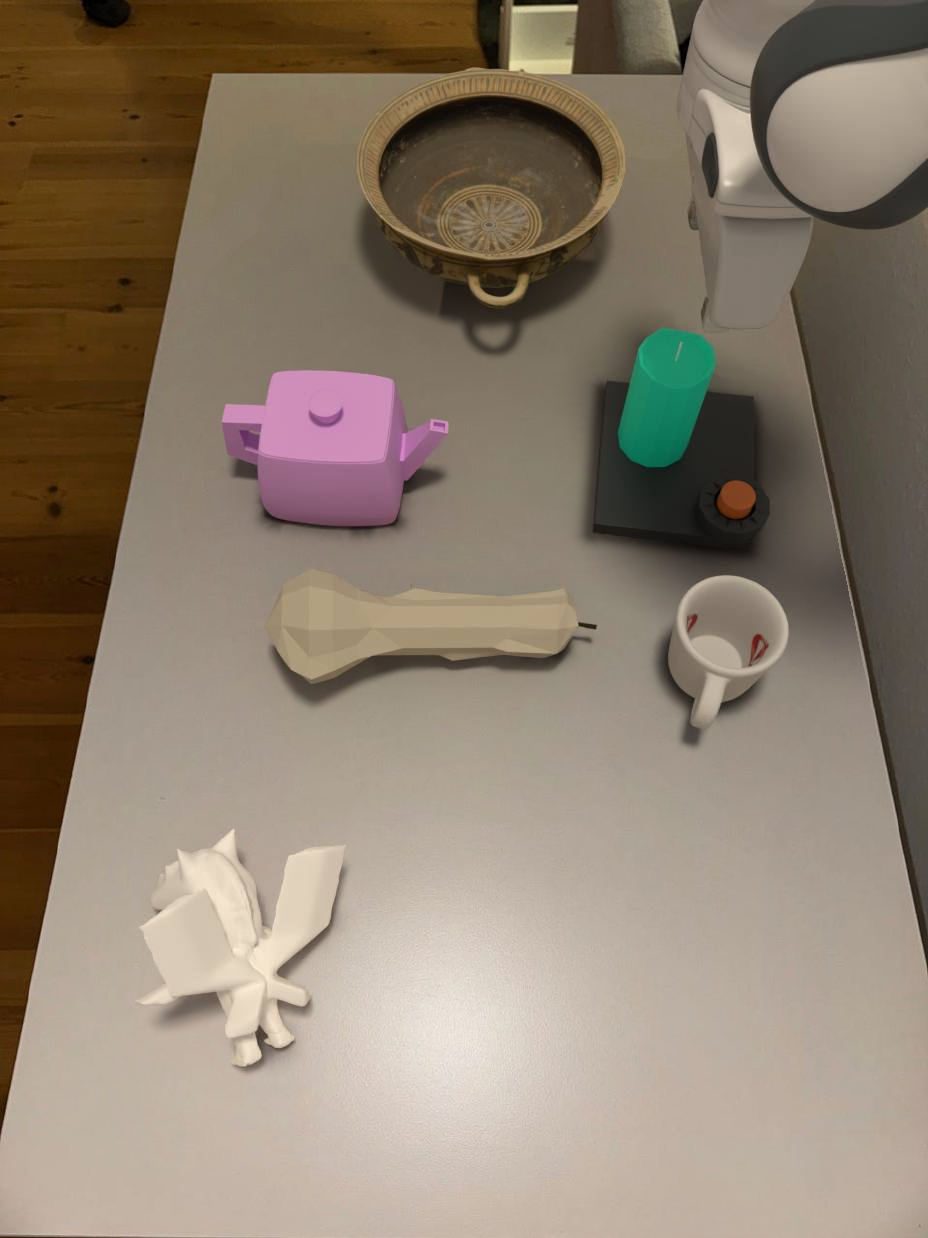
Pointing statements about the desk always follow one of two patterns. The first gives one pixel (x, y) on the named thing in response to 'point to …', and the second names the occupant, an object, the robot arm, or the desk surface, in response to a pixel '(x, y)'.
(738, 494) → the button
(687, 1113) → the desk surface
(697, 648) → the cup
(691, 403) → the candle
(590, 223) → the ceramic bowl
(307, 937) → the figurine
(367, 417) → the teapot
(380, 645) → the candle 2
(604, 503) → the scale
